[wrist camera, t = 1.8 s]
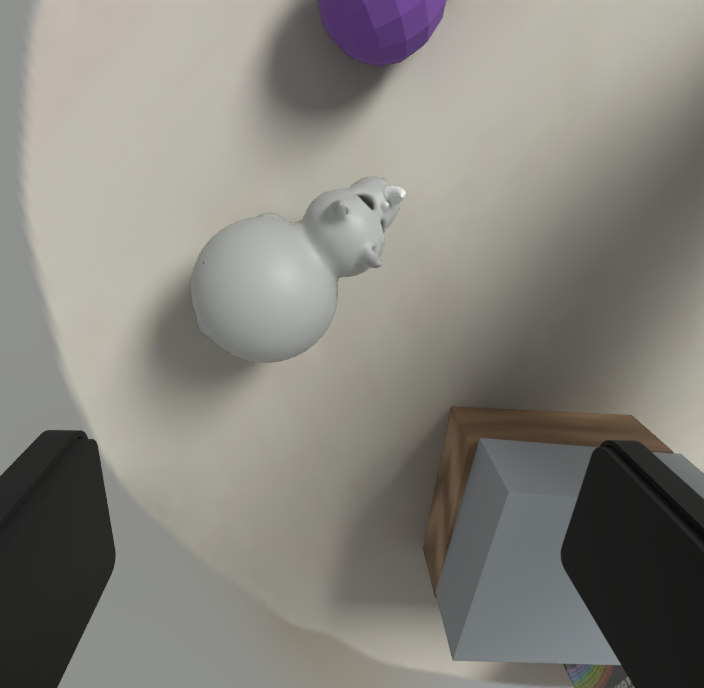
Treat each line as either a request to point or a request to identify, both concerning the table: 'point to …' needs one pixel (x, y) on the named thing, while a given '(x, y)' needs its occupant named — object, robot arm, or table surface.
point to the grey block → (523, 557)
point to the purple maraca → (380, 27)
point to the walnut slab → (516, 427)
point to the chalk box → (598, 676)
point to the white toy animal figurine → (289, 271)
